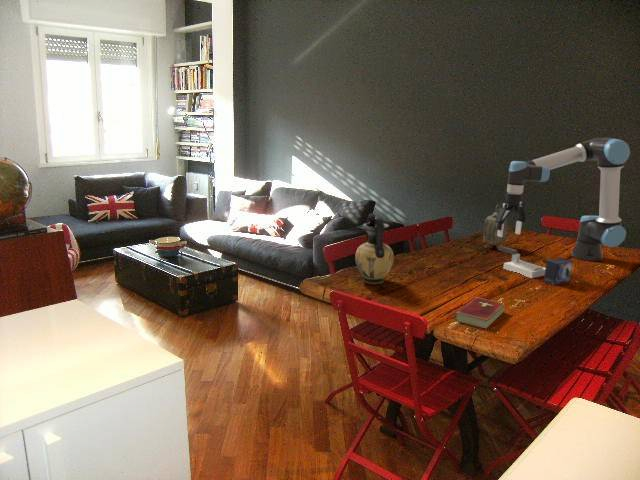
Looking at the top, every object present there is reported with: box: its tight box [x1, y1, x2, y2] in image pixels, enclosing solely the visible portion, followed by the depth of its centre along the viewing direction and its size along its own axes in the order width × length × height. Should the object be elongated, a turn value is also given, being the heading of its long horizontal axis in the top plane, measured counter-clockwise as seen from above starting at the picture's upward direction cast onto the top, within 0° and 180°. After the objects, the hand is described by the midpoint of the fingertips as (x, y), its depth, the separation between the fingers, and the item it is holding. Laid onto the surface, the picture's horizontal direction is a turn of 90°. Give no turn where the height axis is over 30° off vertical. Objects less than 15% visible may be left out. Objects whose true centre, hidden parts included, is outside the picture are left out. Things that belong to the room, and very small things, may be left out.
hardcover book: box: [454, 296, 506, 329], centre depth 203 cm, size 12×21×4 cm, turn 145°
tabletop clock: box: [482, 203, 509, 249], centre depth 302 cm, size 14×9×25 cm, turn 144°
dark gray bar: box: [497, 245, 544, 271], centre depth 264 cm, size 24×6×6 cm, turn 32°
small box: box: [543, 257, 574, 286], centre depth 246 cm, size 11×6×10 cm, turn 117°
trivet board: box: [502, 259, 546, 279], centre depth 261 cm, size 16×12×3 cm
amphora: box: [354, 213, 394, 285], centre depth 237 cm, size 18×17×30 cm
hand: (508, 235), depth 267 cm, fingers open, 13 cm apart
